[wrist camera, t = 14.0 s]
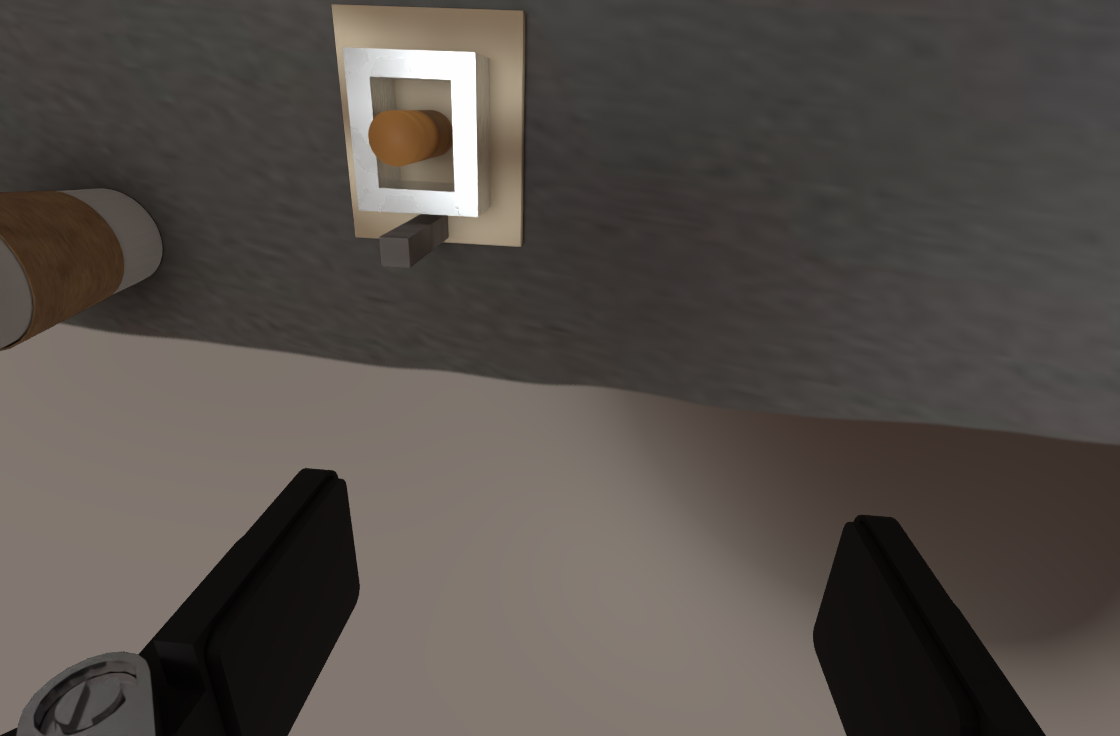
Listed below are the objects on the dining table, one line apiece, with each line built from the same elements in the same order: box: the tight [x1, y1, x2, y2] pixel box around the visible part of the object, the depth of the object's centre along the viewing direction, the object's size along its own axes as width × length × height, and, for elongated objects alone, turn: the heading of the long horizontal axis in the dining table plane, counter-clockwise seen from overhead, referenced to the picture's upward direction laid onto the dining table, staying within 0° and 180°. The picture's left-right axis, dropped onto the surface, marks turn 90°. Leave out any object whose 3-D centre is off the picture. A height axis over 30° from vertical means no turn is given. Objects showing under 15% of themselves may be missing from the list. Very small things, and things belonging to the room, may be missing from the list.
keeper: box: [332, 5, 526, 268], centre depth 30 cm, size 12×10×8 cm
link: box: [343, 47, 491, 217], centre depth 31 cm, size 8×6×4 cm
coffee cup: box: [0, 188, 163, 351], centre depth 31 cm, size 8×8×15 cm
